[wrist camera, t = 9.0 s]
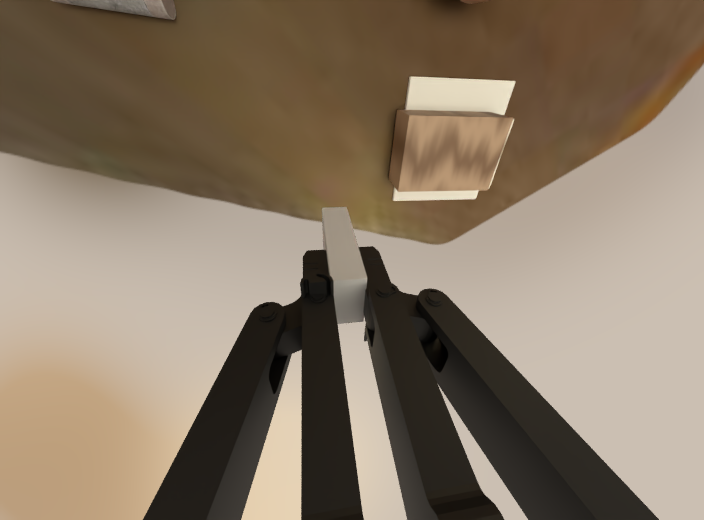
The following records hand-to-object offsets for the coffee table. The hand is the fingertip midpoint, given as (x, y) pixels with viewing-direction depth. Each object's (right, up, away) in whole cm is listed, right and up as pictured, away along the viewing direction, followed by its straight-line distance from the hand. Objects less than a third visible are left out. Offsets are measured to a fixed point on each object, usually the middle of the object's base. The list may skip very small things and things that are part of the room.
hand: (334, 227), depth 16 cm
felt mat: (+15, +14, +21) cm, 30 cm away
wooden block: (+7, +12, +18) cm, 23 cm away
